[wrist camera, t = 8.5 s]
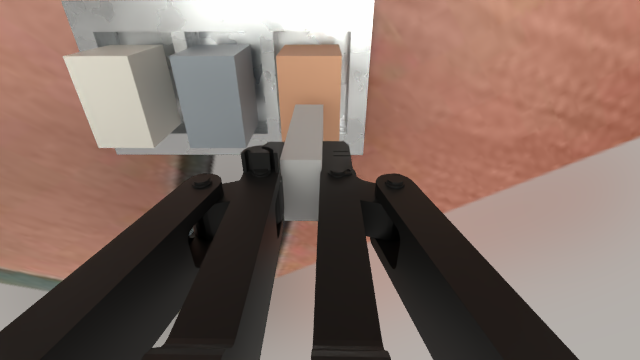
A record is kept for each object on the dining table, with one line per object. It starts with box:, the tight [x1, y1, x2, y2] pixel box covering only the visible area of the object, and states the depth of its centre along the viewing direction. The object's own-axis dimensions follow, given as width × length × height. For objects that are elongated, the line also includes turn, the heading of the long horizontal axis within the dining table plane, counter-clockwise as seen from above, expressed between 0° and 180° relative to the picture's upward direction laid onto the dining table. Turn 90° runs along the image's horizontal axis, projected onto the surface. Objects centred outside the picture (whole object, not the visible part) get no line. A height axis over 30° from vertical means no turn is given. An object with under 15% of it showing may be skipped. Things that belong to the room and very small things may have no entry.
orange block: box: [276, 44, 342, 142], centre depth 23 cm, size 4×6×5 cm, turn 0°
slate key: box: [169, 44, 259, 148], centre depth 23 cm, size 4×6×5 cm, turn 0°
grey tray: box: [61, 0, 374, 155], centre depth 27 cm, size 22×12×4 cm, turn 90°
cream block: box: [63, 45, 181, 148], centre depth 23 cm, size 4×6×5 cm, turn 0°
